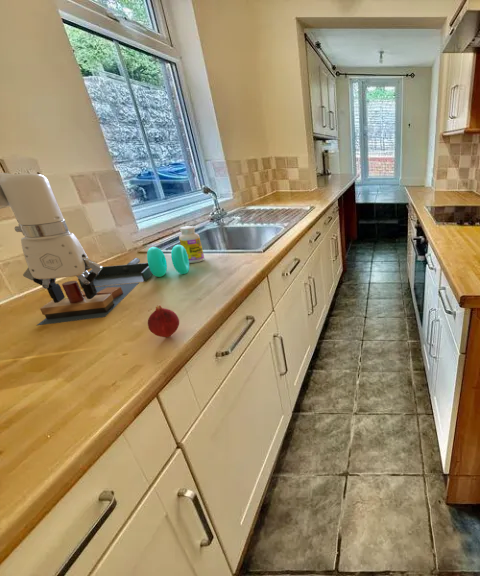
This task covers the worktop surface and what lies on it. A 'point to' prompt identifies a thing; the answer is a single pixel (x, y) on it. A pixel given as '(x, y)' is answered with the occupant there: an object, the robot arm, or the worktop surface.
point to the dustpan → (122, 274)
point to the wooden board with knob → (77, 303)
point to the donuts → (160, 265)
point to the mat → (125, 289)
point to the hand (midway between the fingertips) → (76, 298)
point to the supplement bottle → (191, 244)
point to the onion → (163, 322)
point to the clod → (111, 291)
